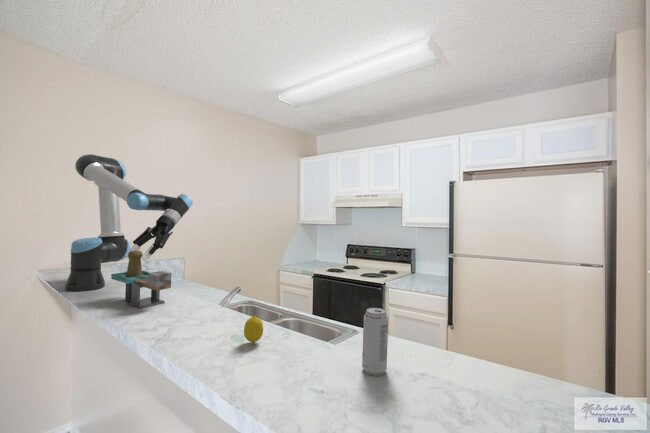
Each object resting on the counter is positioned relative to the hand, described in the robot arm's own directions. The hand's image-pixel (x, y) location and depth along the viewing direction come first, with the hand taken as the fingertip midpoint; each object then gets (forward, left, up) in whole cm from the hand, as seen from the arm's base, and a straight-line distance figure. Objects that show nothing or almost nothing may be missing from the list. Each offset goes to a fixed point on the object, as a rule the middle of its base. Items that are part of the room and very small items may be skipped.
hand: (135, 258), depth 134 cm
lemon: (+69, +21, -18) cm, 74 cm away
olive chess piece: (0, 0, -8) cm, 8 cm away
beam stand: (+6, +2, -17) cm, 18 cm away
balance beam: (+7, +2, -10) cm, 13 cm away
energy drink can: (+101, +38, -18) cm, 109 cm away
